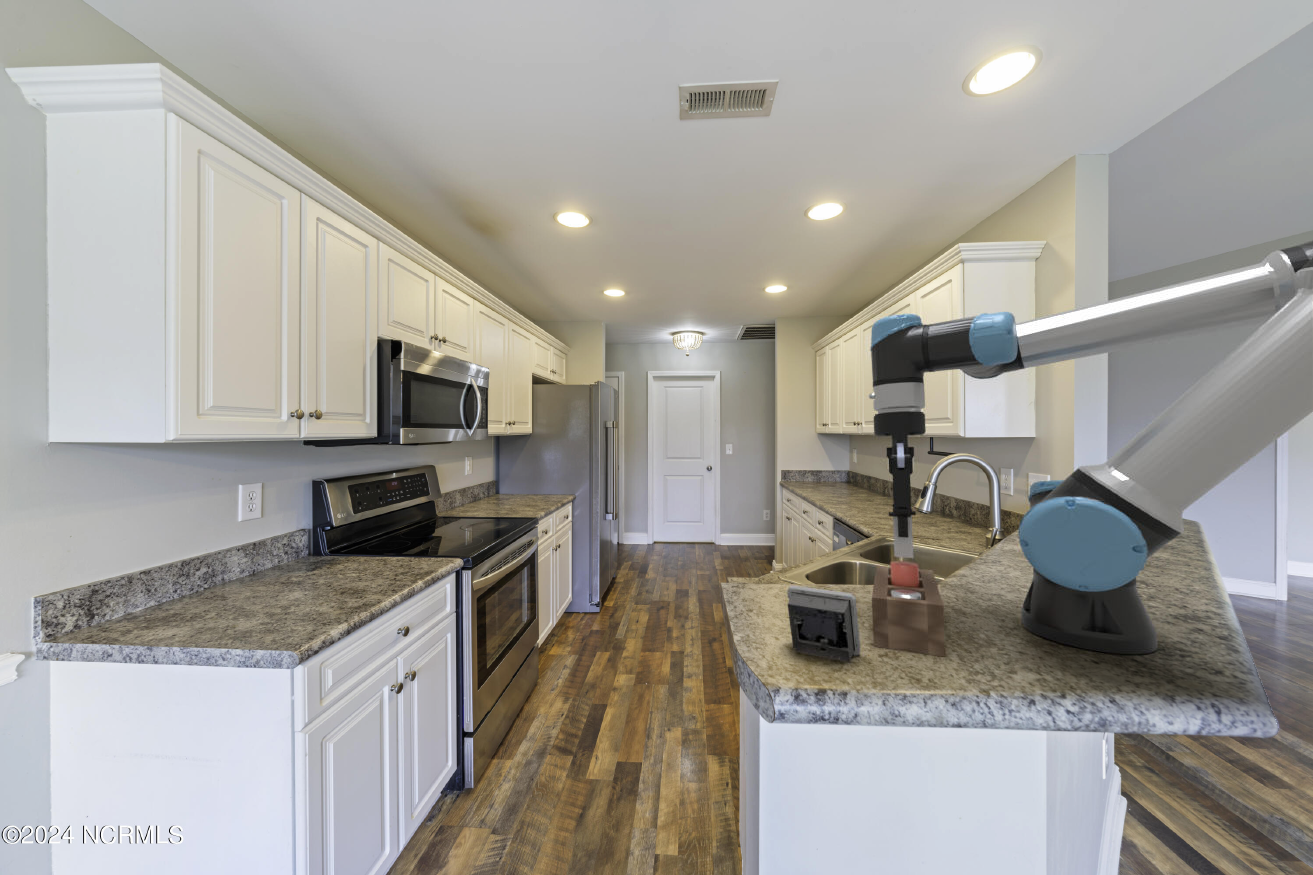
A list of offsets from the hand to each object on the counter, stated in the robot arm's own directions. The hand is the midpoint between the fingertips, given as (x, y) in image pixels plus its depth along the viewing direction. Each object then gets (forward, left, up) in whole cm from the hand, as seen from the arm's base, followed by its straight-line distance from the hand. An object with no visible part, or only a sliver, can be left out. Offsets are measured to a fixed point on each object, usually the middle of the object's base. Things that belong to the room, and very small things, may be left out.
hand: (903, 556), depth 76 cm
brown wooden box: (0, 0, -11) cm, 11 cm away
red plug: (0, 0, -7) cm, 7 cm away
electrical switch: (-4, +19, -12) cm, 23 cm away
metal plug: (-5, +5, -10) cm, 12 cm away
